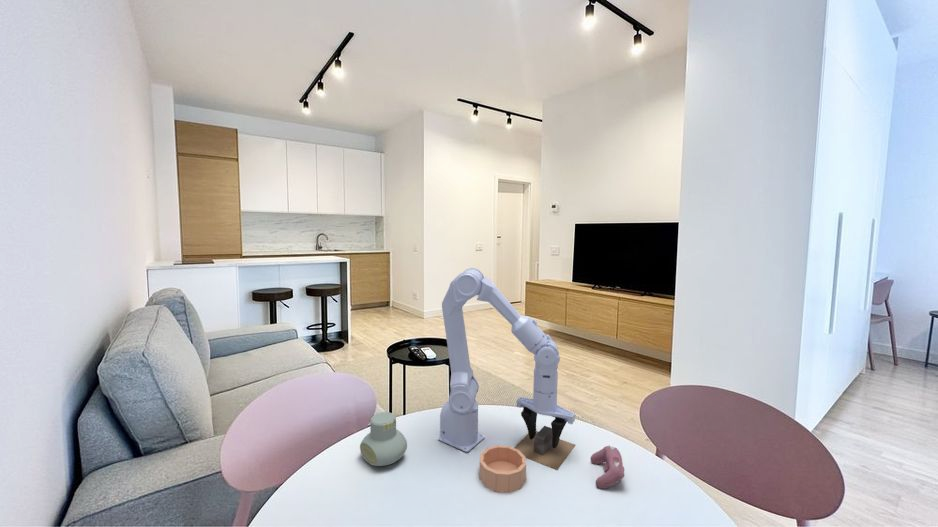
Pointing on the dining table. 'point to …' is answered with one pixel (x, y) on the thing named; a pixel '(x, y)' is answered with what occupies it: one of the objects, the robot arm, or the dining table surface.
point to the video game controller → (609, 466)
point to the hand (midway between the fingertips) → (543, 441)
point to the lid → (545, 448)
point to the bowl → (502, 468)
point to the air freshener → (383, 441)
